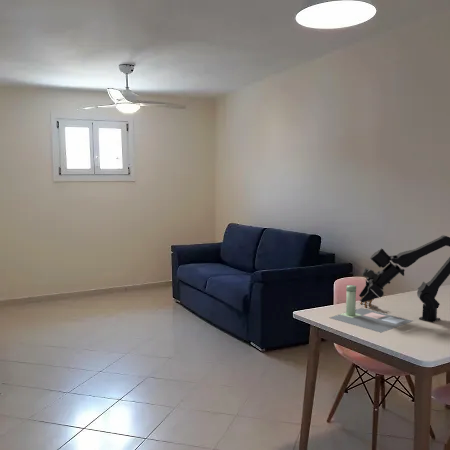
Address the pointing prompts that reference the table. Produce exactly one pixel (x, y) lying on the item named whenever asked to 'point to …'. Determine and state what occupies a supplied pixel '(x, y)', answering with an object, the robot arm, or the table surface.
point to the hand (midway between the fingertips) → (360, 298)
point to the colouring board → (372, 320)
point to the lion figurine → (366, 302)
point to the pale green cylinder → (351, 300)
